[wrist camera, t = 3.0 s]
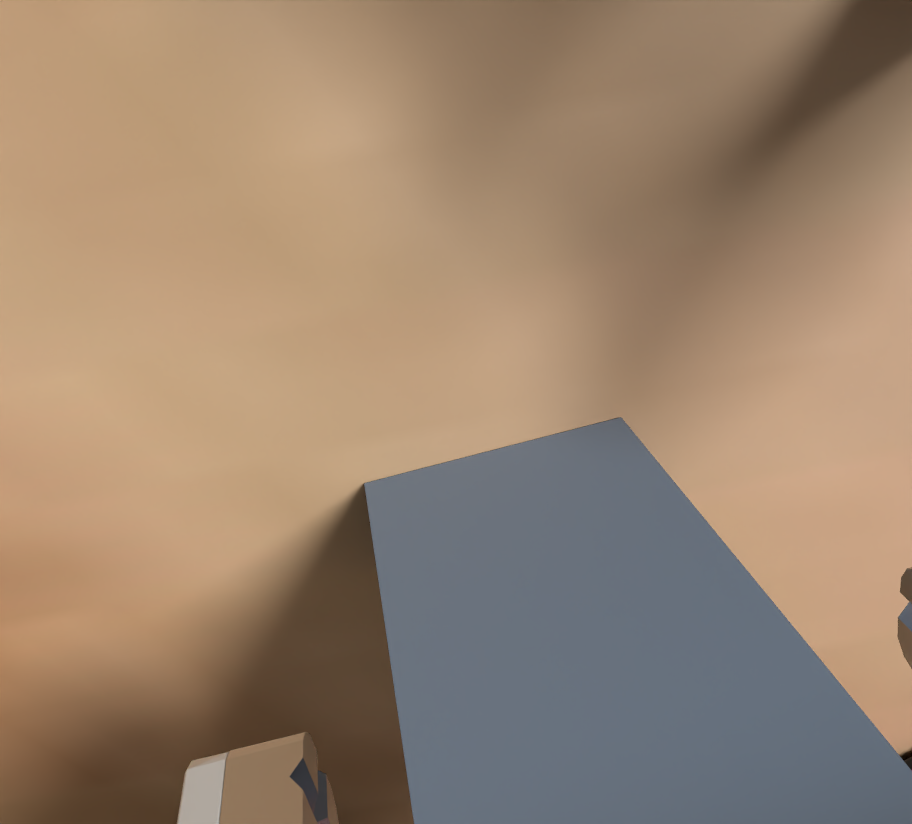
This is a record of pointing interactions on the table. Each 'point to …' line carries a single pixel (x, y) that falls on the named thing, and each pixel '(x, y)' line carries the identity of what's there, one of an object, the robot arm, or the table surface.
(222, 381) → the table surface
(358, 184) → the table surface
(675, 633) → the domino
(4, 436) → the table surface
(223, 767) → the robot arm
